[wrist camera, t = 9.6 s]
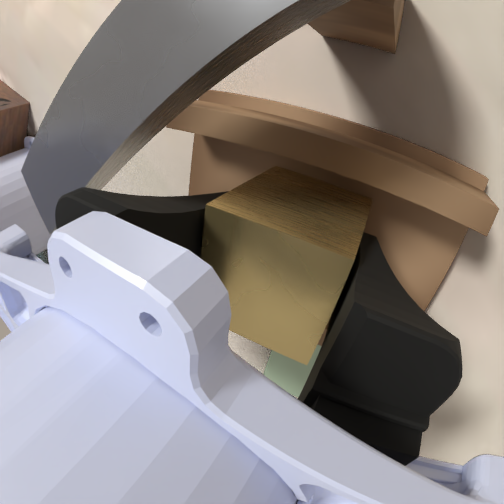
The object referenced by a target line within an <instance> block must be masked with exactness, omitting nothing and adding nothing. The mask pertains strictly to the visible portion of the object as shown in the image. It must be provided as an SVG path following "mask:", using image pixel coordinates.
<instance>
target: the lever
mask: <svg viewBox="0 0 504 504" xmlns="http://www.w3.org/2000/svg"><path fill="white" fill-rule="evenodd" d="M349 1H351V0H121V2H120V3H119V4H118V5H117V6H116V8H115V9H114V10H113V11H112V13H111V14H110V15H109V16H108V18H107V19H106V20H105V21H104V23H103V24H102V25H101V27H100V28H99V29H98V31H97V32H96V33H95V35H94V36H93V37H92V39H91V40H90V42H89V43H88V45H87V46H86V47H85V49H84V50H83V52H82V53H81V55H80V56H79V58H78V59H77V61H76V62H75V64H74V66H73V67H72V69H71V70H70V72H69V74H68V75H67V77H66V79H65V80H64V82H63V84H62V85H61V87H60V89H59V91H58V93H57V94H56V96H55V98H54V100H53V102H52V104H51V105H50V107H49V109H48V111H47V113H46V115H45V117H44V119H43V121H42V123H41V125H40V127H39V130H38V132H37V134H36V136H35V138H34V140H33V143H32V145H31V147H30V150H29V152H28V154H27V157H26V159H25V162H24V164H23V167H22V169H21V172H22V175H23V177H24V180H25V182H26V184H27V187H28V189H29V191H30V194H31V196H32V198H33V201H34V203H35V205H36V207H37V209H38V211H39V214H40V216H41V218H42V220H43V222H44V224H45V226H46V228H47V230H48V232H49V234H52V233H53V232H54V231H55V230H57V228H56V221H55V210H56V205H57V202H58V200H59V198H60V197H61V196H62V195H64V194H67V193H69V192H71V191H74V190H76V189H78V188H81V187H87V188H92V189H97V190H101V189H102V188H103V187H104V186H105V185H106V184H107V183H108V182H109V181H110V180H111V179H112V177H113V176H114V175H115V174H116V173H117V172H118V171H119V170H120V169H121V168H122V167H123V166H124V165H125V164H126V163H127V162H128V161H129V160H130V159H131V158H132V157H133V156H134V155H135V154H136V153H137V152H138V151H139V150H140V149H141V148H142V147H143V146H144V145H146V144H147V143H148V142H149V141H150V140H151V139H152V138H153V137H154V136H155V135H156V134H157V133H158V132H160V131H161V130H162V129H163V128H164V127H165V126H166V125H167V124H168V123H170V122H171V121H172V120H173V119H174V118H175V117H176V116H178V115H179V114H180V113H181V112H182V111H183V110H185V109H186V108H187V107H188V106H189V105H191V104H192V103H193V102H194V101H196V100H197V99H198V98H199V97H200V96H202V95H203V94H204V93H205V92H207V91H208V90H209V89H211V88H212V87H213V86H214V85H216V84H217V83H218V82H220V81H221V80H222V79H224V78H225V77H226V76H228V75H229V74H230V73H232V72H233V71H235V70H236V69H237V68H239V67H240V66H241V65H243V64H244V63H246V62H247V61H249V60H250V59H252V58H253V57H254V56H256V55H257V54H259V53H260V52H262V51H263V50H265V49H266V48H268V47H269V46H271V45H273V44H274V43H276V42H277V41H279V40H280V39H282V38H284V37H285V36H287V35H289V34H290V33H292V32H294V31H295V30H297V29H299V28H300V27H302V26H304V25H305V24H307V23H309V22H311V21H313V20H314V19H316V18H318V17H320V16H322V15H323V14H325V13H327V12H329V11H331V10H333V9H335V8H337V7H339V6H341V5H343V4H345V3H347V2H349Z"/></svg>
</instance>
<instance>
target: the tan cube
mask: <svg viewBox="0 0 504 504" xmlns="http://www.w3.org/2000/svg"><path fill="white" fill-rule="evenodd" d="M372 200H373V199H372V198H369V197H366V196H364V195H361V194H358V193H356V192H353V191H350V190H347V189H345V188H342V187H339V186H336V185H333V184H330V183H328V182H325V181H322V180H319V179H316V178H313V177H310V176H307V175H304V174H301V173H298V172H295V171H291V170H288V169H285V168H282V167H279V166H274V167H272V168H271V169H269V170H267V171H265V172H263V173H261V174H259V175H257V176H256V177H254V178H252V179H250V180H248V181H246V182H245V183H243V184H241V185H239V186H237V187H236V188H234V189H232V190H230V191H228V192H227V193H225V194H223V195H221V196H220V197H218V198H216V199H214V200H213V201H211V202H209V203H207V204H206V208H205V218H204V228H203V238H202V249H201V259H202V260H203V261H205V262H206V263H208V264H209V265H210V266H212V268H213V269H214V271H215V272H216V274H217V275H218V277H219V278H220V280H221V281H222V283H223V284H224V286H225V288H226V289H227V291H228V294H229V301H230V309H231V320H230V326H229V330H230V331H232V332H235V333H237V334H239V335H241V336H243V337H245V338H247V339H249V340H251V341H253V342H256V343H258V344H260V345H262V346H264V347H266V348H269V349H271V350H273V351H275V352H277V353H280V354H282V355H284V356H286V357H289V358H291V359H293V360H296V361H298V362H300V363H302V364H305V365H308V363H309V361H310V359H311V357H312V355H313V353H314V351H315V349H316V346H317V344H318V342H319V340H320V338H321V336H322V334H323V332H324V330H325V327H326V325H327V323H328V321H329V319H330V317H331V314H332V312H333V310H334V308H335V305H336V303H337V301H338V298H339V296H340V294H341V292H342V289H343V287H344V284H345V282H346V280H347V277H348V275H349V272H350V270H351V268H352V265H353V263H354V260H355V257H356V254H357V251H358V248H359V244H360V241H361V238H362V235H363V231H364V228H365V225H366V221H367V218H368V215H369V211H370V208H371V204H372Z"/></svg>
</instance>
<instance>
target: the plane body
mask: <svg viewBox="0 0 504 504" xmlns="http://www.w3.org/2000/svg"><path fill="white" fill-rule="evenodd" d="M404 2H405V0H351V1H349V2H347V3H345V4H343V5H341V6H339V7H337V8H335V9H333V10H331V11H329V12H327V13H325V14H323V15H322V16H320V17H318V18H316V19H314V20H313V21H311V22H309V23H307V24H309V25H310V26H311V27H312V28H313V29H315V30H316V31H317V32H318V33H319V34H321V35H322V36H326V37H331V38H336V39H341V40H345V41H349V42H354V43H358V44H362V45H366V46H369V47H373V48H377V49H380V50H383V51H387V52H390V53H393V54H395V53H396V48H397V43H398V38H399V32H400V27H401V21H402V15H403V9H404ZM166 127H167V128H172V129H177V130H182V131H186V132H191V133H195V134H194V143H193V153H192V163H191V173H190V184H189V196H191V195H201V194H210V193H218V192H226V191H230V190H232V189H234V188H236V187H237V186H239V185H241V184H243V183H245V182H246V181H248V180H250V179H252V178H254V177H256V176H257V175H259V174H261V173H263V172H265V171H267V170H269V169H271V168H272V167H274V166H279V167H282V168H285V169H288V170H291V171H295V172H298V173H301V174H304V175H307V176H310V177H313V178H316V179H319V180H322V181H325V182H328V183H330V184H333V185H336V186H339V187H342V188H345V189H347V190H350V191H353V192H356V193H358V194H361V195H364V196H366V197H369V198H372V199H373V200H372V204H371V208H370V211H369V215H368V218H367V221H366V225H365V228H364V231H363V232H365V233H368V234H370V235H373V236H375V237H377V240H378V242H379V244H380V247H381V249H382V252H383V254H384V256H385V258H386V260H387V262H388V264H389V266H390V268H391V270H392V271H393V273H394V275H395V276H396V278H397V280H398V281H399V282H400V284H401V285H402V287H403V288H404V289H405V291H406V292H407V293H408V294H409V296H410V297H411V298H412V299H413V300H414V301H415V302H416V304H417V305H418V306H419V307H420V308H421V309H422V310H423V311H425V309H426V308H427V306H428V304H429V303H430V301H431V299H432V298H433V296H434V294H435V293H436V291H437V289H438V287H439V286H440V284H441V282H442V280H443V278H444V277H445V275H446V273H447V271H448V269H449V267H450V265H451V263H452V262H453V260H454V258H455V256H456V254H457V252H458V250H459V248H460V246H461V244H462V241H463V239H464V237H465V235H466V233H467V231H468V229H469V228H471V229H473V230H475V231H477V232H479V233H481V234H483V235H485V236H487V235H488V233H489V231H490V228H491V226H492V224H493V222H494V220H495V217H496V215H497V213H498V210H499V208H498V207H497V206H496V205H495V203H494V202H493V201H492V200H491V199H490V198H489V196H488V195H487V194H486V193H485V192H484V191H485V188H486V185H487V183H488V180H489V179H488V178H487V177H485V176H484V175H482V174H480V173H478V172H476V171H474V170H472V169H470V168H468V167H466V166H464V165H462V164H459V163H457V162H455V161H453V160H451V159H449V158H447V157H444V156H442V155H440V154H438V153H435V152H433V151H431V150H428V149H426V148H423V147H421V146H419V145H416V144H414V143H411V142H409V141H406V140H403V139H401V138H398V137H395V136H393V135H390V134H387V133H385V132H382V131H379V130H376V129H373V128H370V127H367V126H364V125H361V124H358V123H355V122H352V121H348V120H345V119H342V118H338V117H335V116H332V115H328V114H325V113H321V112H317V111H313V110H310V109H306V108H302V107H298V106H294V105H289V104H285V103H281V102H276V101H271V100H267V99H262V98H257V97H251V96H246V95H240V94H235V93H229V92H222V91H216V90H208V91H207V92H205V93H204V94H203V95H202V96H200V97H199V100H196V101H194V102H193V103H192V104H191V105H189V106H188V107H187V108H186V109H185V110H183V111H182V112H181V113H180V114H179V115H178V116H176V117H175V118H174V119H173V120H172V121H171V122H170V123H168V124H167V126H166ZM329 321H330V319H329ZM329 321H328V323H327V325H326V327H325V330H324V332H323V334H322V336H321V338H320V340H319V342H318V344H317V345H320V346H322V344H323V341H324V338H325V335H326V332H327V328H328V325H329Z"/></svg>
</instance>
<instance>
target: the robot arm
mask: <svg viewBox="0 0 504 504" xmlns="http://www.w3.org/2000/svg"><path fill="white" fill-rule="evenodd" d="M34 138H35V137H32V136H27V137H25V138H24V148H23V149H20V150H18V151H15V152H12V153H9V154H6V155H4V156H1V157H0V317H1V318H2V320H3V321H4V322H5V324H6V325H7V327H8V328H9V329H10V331H11V333H10V334H8V335H7V336H6V337H5V338H3V339H2V340H1V341H0V504H504V457H502V456H496V455H491V454H482V455H478V456H476V457H474V458H473V459H471V460H470V461H468V462H467V463H466V464H465V465H463V466H462V465H457V464H452V463H447V462H443V461H438V460H434V459H430V458H426V457H422V456H419V451H420V445H421V438H422V431H423V432H424V431H426V430H427V428H428V426H429V417H430V415H431V414H432V413H433V412H434V411H435V410H437V409H438V408H439V407H440V406H441V405H442V404H443V403H444V402H445V401H446V400H447V399H448V398H449V397H450V396H451V395H452V394H453V392H454V391H455V390H456V389H457V387H458V386H459V383H460V380H461V378H462V356H461V347H460V341H459V339H458V338H456V337H455V336H454V335H452V334H451V333H449V332H448V331H447V330H445V329H444V328H443V327H441V326H440V325H439V324H438V323H436V322H435V321H434V320H433V319H432V318H431V317H430V316H428V315H427V314H426V313H425V312H424V311H423V310H422V309H421V308H420V307H419V306H418V305H417V304H416V302H415V301H414V300H413V299H412V298H411V297H410V296H409V294H408V293H407V292H406V291H405V289H404V288H403V287H402V285H401V284H400V282H399V281H398V280H397V278H396V276H395V275H394V273H393V271H392V270H391V268H390V266H389V264H388V262H387V260H386V258H385V256H384V254H383V252H382V249H381V247H380V244H379V242H378V240H377V237H375V236H373V235H370V234H368V233H365V232H363V235H362V238H361V241H360V244H359V248H358V251H357V254H356V257H355V260H354V263H353V265H352V268H351V270H350V272H349V275H348V277H347V280H346V282H345V284H344V287H343V289H342V292H341V294H340V296H339V298H338V301H337V303H336V305H335V308H334V310H333V312H332V314H331V317H330V321H329V325H328V328H327V332H326V335H325V338H324V341H323V344H322V347H321V349H320V351H319V354H318V356H317V358H316V361H315V363H314V365H313V367H312V370H311V372H310V374H309V376H308V378H307V381H306V383H305V385H304V387H303V389H302V391H301V393H300V395H299V397H298V399H297V398H295V397H294V396H292V395H291V394H290V393H288V392H287V391H285V390H284V389H283V388H281V387H280V386H278V385H277V384H276V383H274V382H273V381H272V380H270V379H269V378H267V377H266V376H265V375H263V374H262V373H261V372H259V371H258V370H257V369H255V368H254V367H253V366H251V365H250V364H249V363H247V362H246V361H245V360H244V359H242V358H241V357H240V356H238V355H237V354H236V353H234V352H233V351H232V350H231V348H230V347H229V345H228V332H229V326H230V320H231V309H230V301H229V294H228V291H227V289H226V288H225V286H224V284H223V283H222V281H221V280H220V278H219V277H218V275H217V274H216V272H215V271H214V269H213V268H212V266H210V265H209V264H208V263H206V262H205V261H203V260H202V259H201V249H202V238H203V228H204V218H205V208H206V204H207V203H209V202H211V201H213V200H214V199H216V198H218V197H220V196H221V195H223V194H225V193H227V192H228V191H226V192H218V193H210V194H201V195H191V196H174V197H157V196H137V195H127V194H119V193H113V192H107V191H102V190H97V189H92V188H87V187H81V188H78V189H76V190H74V191H71V192H69V193H67V194H64V195H62V196H61V197H60V198H59V200H58V202H57V205H56V210H55V221H56V228H57V230H55V231H54V232H53V233H52V234H49V232H48V230H47V228H46V226H45V224H44V222H43V220H42V218H41V216H40V214H39V211H38V209H37V207H36V205H35V203H34V201H33V198H32V196H31V194H30V191H29V189H28V187H27V184H26V182H25V180H24V177H23V175H22V172H21V169H22V167H23V164H24V162H25V159H26V157H27V154H28V152H29V150H30V147H31V145H32V143H33V140H34ZM46 249H48V261H49V262H48V263H45V262H43V261H42V260H41V259H40V258H39V257H37V256H36V255H37V254H39V253H40V252H42V251H44V250H46Z"/></svg>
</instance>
